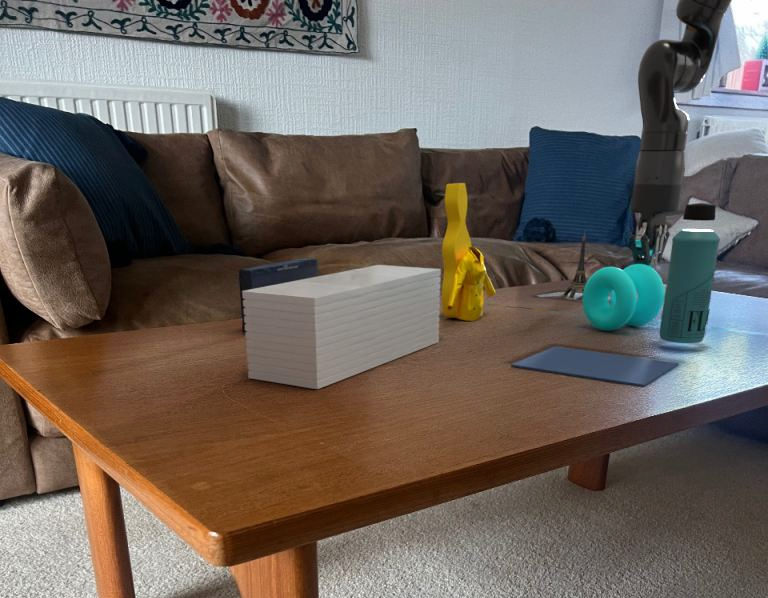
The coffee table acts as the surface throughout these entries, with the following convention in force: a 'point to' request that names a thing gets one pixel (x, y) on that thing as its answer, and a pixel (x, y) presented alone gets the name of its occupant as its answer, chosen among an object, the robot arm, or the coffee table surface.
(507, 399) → the coffee table surface
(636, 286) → the donuts
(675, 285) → the beverage bottle
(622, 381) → the felt mat
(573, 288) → the eiffel tower figurine
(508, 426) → the coffee table surface
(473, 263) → the figure statuette
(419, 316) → the stack of papers
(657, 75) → the robot arm
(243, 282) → the vhs cassette tape
